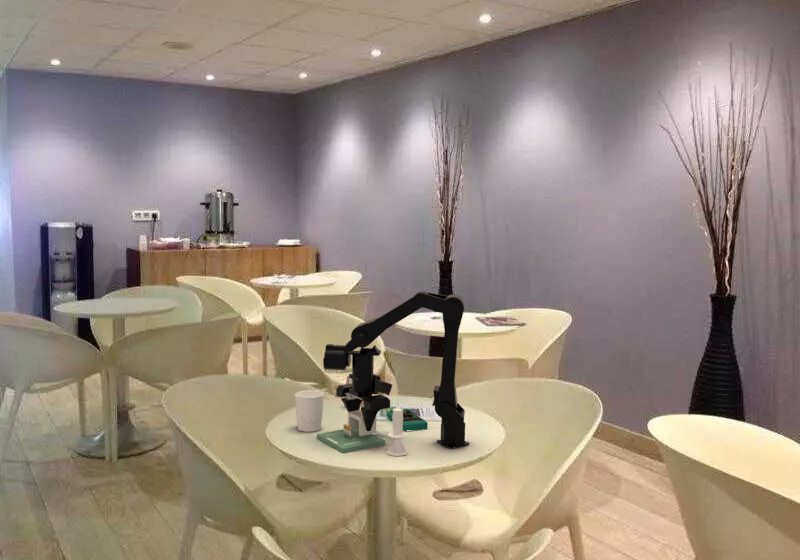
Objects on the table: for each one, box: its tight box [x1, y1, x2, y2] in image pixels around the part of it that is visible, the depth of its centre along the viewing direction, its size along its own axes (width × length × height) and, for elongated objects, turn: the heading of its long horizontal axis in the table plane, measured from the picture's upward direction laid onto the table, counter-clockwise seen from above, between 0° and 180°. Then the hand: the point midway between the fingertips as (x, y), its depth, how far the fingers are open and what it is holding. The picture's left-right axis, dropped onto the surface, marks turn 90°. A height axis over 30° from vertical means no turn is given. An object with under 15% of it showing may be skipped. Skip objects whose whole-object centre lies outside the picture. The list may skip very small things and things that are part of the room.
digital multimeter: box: [386, 408, 428, 432], centre depth 217 cm, size 7×15×3 cm, turn 21°
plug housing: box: [347, 409, 377, 436], centre depth 201 cm, size 6×5×5 cm
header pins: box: [343, 423, 352, 440], centre depth 198 cm, size 3×1×3 cm, turn 35°
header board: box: [316, 428, 387, 454], centre depth 199 cm, size 14×13×1 cm
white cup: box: [294, 389, 325, 433], centre depth 209 cm, size 8×8×10 cm
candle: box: [386, 407, 409, 457], centre depth 190 cm, size 5×5×12 cm
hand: (362, 427), depth 201 cm, fingers closed on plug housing, 6 cm apart
